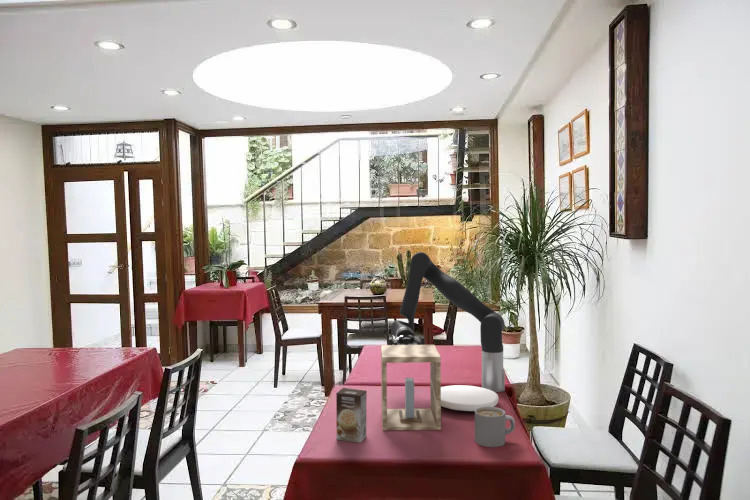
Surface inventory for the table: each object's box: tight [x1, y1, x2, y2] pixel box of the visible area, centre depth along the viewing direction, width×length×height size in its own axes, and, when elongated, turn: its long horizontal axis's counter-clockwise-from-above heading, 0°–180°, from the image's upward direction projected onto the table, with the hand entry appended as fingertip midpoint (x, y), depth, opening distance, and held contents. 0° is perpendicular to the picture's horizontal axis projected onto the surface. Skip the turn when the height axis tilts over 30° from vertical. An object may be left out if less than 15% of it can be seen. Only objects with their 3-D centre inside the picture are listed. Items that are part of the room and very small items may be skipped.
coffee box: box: [335, 387, 368, 444], centre depth 179 cm, size 9×6×16 cm
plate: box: [441, 384, 499, 412], centre depth 213 cm, size 28×6×27 cm
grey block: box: [404, 377, 415, 418], centre depth 195 cm, size 3×6×14 cm, turn 179°
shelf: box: [380, 344, 442, 431], centre depth 195 cm, size 20×19×26 cm
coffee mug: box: [474, 406, 516, 448], centre depth 176 cm, size 13×10×10 cm
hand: (407, 344), depth 206 cm, fingers open, 8 cm apart
